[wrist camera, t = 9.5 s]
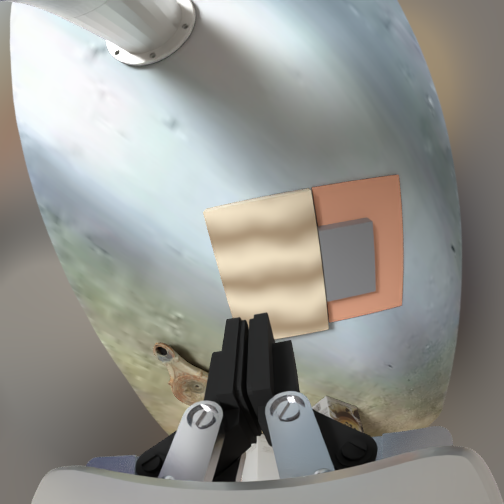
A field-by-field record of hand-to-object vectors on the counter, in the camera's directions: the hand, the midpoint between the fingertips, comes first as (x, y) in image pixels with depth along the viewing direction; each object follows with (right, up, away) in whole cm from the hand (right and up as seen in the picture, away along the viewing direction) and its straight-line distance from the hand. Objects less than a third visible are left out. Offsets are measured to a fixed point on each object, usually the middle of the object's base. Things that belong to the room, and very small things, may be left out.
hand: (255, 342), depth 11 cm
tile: (+12, +3, +25) cm, 28 cm away
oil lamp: (-10, -18, +35) cm, 41 cm away
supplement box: (+3, -40, +43) cm, 59 cm away
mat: (+15, +4, +26) cm, 30 cm away
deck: (+3, +1, +27) cm, 27 cm away
